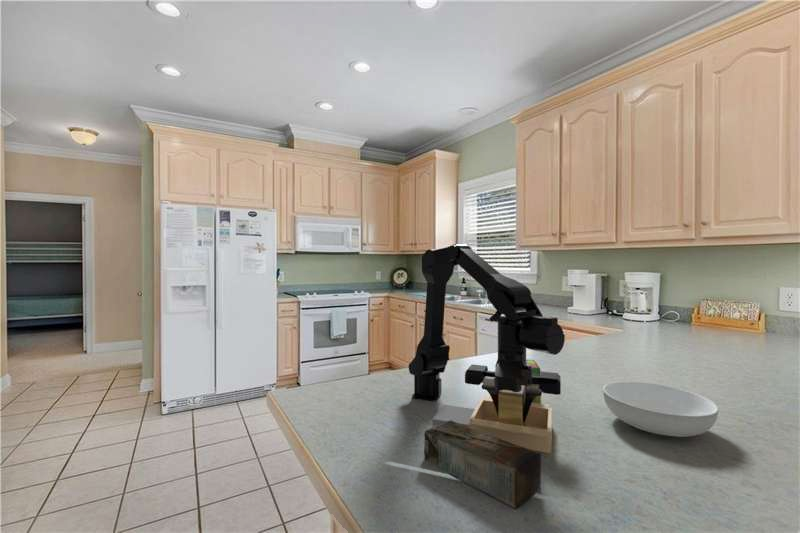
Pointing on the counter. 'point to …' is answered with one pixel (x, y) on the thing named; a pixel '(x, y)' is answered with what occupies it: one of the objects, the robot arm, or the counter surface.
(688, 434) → the serving bowl
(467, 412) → the trivet
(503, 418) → the brown wooden block
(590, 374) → the counter surface
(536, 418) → the wooden tray
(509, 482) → the beverage carton
